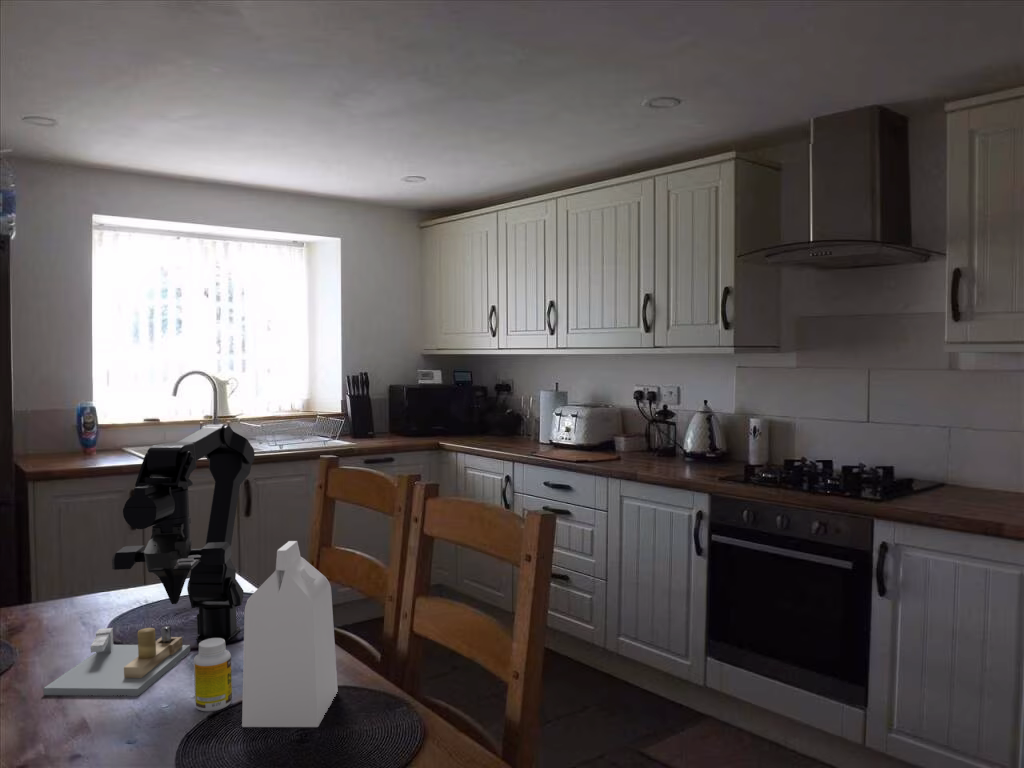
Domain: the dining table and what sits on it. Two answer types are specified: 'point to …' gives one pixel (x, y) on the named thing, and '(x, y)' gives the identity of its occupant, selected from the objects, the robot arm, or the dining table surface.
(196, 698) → the supplement bottle
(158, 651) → the latch bar
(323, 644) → the milk
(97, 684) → the board
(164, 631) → the peg
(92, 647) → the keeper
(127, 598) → the dining table surface
